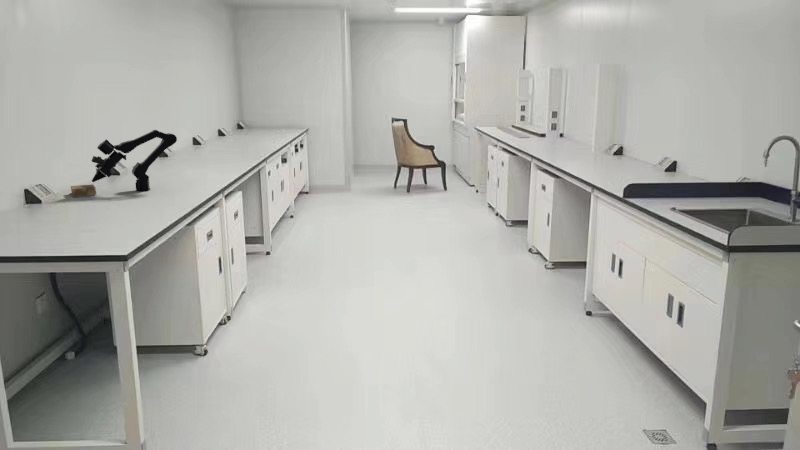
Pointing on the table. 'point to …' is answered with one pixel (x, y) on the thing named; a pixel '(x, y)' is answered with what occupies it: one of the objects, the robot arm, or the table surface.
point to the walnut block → (83, 190)
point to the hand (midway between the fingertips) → (92, 181)
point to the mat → (80, 196)
